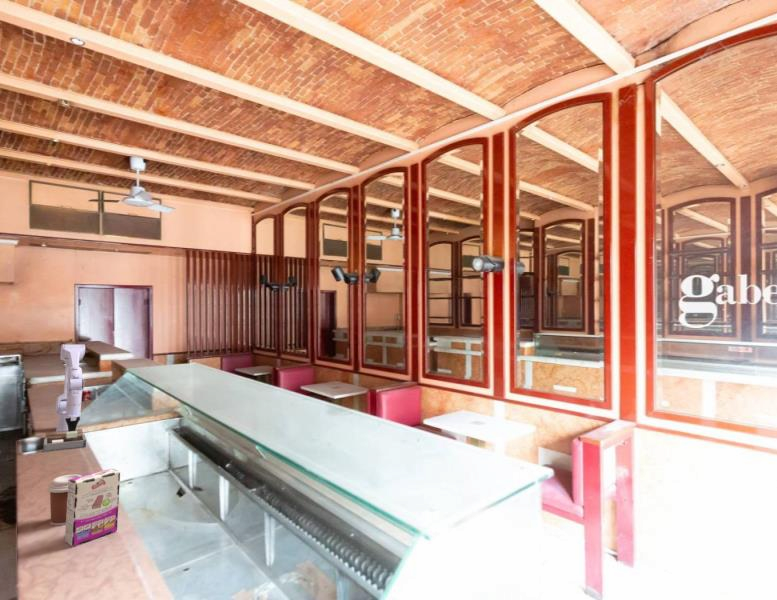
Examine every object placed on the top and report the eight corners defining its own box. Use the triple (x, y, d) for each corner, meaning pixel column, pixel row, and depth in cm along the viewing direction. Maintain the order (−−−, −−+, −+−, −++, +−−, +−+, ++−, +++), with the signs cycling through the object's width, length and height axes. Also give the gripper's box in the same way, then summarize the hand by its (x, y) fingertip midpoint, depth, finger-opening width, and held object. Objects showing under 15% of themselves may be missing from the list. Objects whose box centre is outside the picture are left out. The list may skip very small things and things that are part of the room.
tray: (43, 445, 198) (44, 438, 198) (84, 440, 207) (84, 434, 208) (43, 451, 189) (43, 444, 189) (85, 447, 198) (86, 440, 198)
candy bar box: (108, 526, 125) (112, 467, 126) (117, 531, 122) (121, 471, 123) (62, 542, 115) (67, 478, 116) (71, 548, 113) (76, 482, 114)
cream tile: (52, 442, 194) (51, 447, 194) (63, 441, 197) (62, 445, 197) (52, 440, 198) (51, 444, 198) (63, 439, 200) (62, 443, 200)
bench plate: (45, 437, 210) (46, 432, 210) (81, 434, 218) (81, 429, 219) (45, 444, 199) (45, 439, 199) (82, 440, 207) (83, 435, 208)
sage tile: (66, 436, 205) (66, 431, 205) (76, 435, 207) (77, 430, 208) (66, 438, 202) (66, 433, 202) (77, 437, 204) (77, 432, 204)
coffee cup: (42, 519, 128) (46, 477, 128) (80, 511, 134) (83, 470, 135) (46, 531, 121) (50, 486, 122) (86, 521, 127) (89, 479, 128)
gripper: (63, 402, 211) (60, 431, 210) (63, 407, 199) (61, 438, 199) (80, 401, 215) (78, 429, 215) (82, 406, 204) (80, 436, 203)
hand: (71, 433), depth 207 cm, fingers closed
